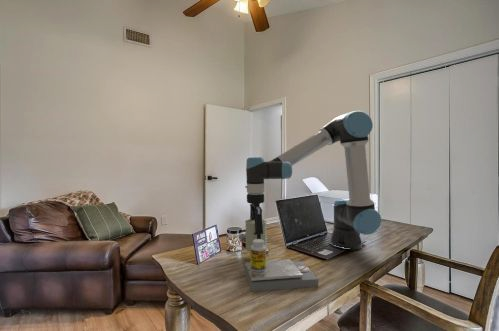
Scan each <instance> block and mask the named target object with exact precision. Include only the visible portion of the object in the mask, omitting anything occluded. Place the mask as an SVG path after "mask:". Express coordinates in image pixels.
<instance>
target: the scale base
mask: <svg viewBox="0 0 499 331" xmlns="http://www.w3.org/2000/svg"><path fill="white" fill-rule="evenodd" d="M292 262H293V264H294V265H295V266H296V267H297V268H298V270H299V271H300V272H301V273H302V274H303V277H297V278H284V279H270V280H256V281H251V278H250V276H249V273H248V270H247V268H246V265H245V264H244V274H245V276H246V279H247V281H248V284H249V288H250V291H251V292H264V291H265V292H266V291H275V290H291V289H299V288H300V289H301V288H314V287H319V278H318V277H317V276H316V275H315V274H314V273H313V271H311V270H310V268H309V267H308V266H307V265H306V264H305V263H304V262H303V261H292Z"/></svg>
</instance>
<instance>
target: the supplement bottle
mask: <svg viewBox="0 0 499 331" xmlns="http://www.w3.org/2000/svg"><path fill="white" fill-rule="evenodd" d="M266 261H267V249H266V246H265V245H264V240H262V239H255V240H253V245H252V246H251V251H250V261H249V262H250V268H251V270H253V271H255V272H261V271H264V270H265V269H266Z"/></svg>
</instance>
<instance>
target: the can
mask: <svg viewBox="0 0 499 331" xmlns="http://www.w3.org/2000/svg"><path fill="white" fill-rule="evenodd" d="M244 222H245V249H246V251H250V252H251V246H252V245H253V240H255V235H254V233H255V221H254V220H252V219H250V218H249V219H247V220H245V221H244ZM262 225H263V234H262V240H264V245H265V246H266V250H267V249H268V246H267V245H268V243H267V220H266V219H264V218H262Z"/></svg>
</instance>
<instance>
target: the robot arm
mask: <svg viewBox="0 0 499 331" xmlns="http://www.w3.org/2000/svg"><path fill="white" fill-rule="evenodd" d="M373 125H374V124H373V121H372V117H370V115H369V114H367V112H365V111H362V110H353V111H349V112H347V113H345V114H341V115H339V116H337V117H335V118H334V119H332V120H331V121H330V122H328V123H326V124H325V125H323V126H322V127H320V128H319V131H318V132H316V133H314V134H313V135H311V136H309V137H308V138H306V139H305V140H303V141H301V142H300V143H298V144H296V145H295V146H293V147H291V148H290V149H288V150H286V151H285V152H283V153H281V154H280V155H278V156H276V157H274V158H273V159H271V160H267V161H265V160H264V157H263V156H262V157H248V158H246V164H245V165H246V166H245V167H246V168H245V169H246V170H245V171H246V174H245V175H246V176H245V177H246V185H245V189H246V192H247V194H246V203H248V204H249V208H250V209H249V219H252V220H254V221H255V233H254V235H255V239H262V234H263V225H262V219H263V209H262V207H261V205H260V204H263V203H265V180H285V179H288V180H289V179H290V178H291V177H292V175H293V166H295V165H296V164H297V163H300V162H302V161H303V160H304V159H306V158H308V157H309V156H311V155H313V154H314V153H316V152H317V151H319V150H321V149H322V148H324V147H326V146H332V145H333V144H335V143H338V142H339V144H340V145H341V146H342V147H343V148H344V158H345V167H346V168H345V169H346V178H347V187H348V196H349V199H337V200H335V201H334V202H333V230H332V233H331V235H330V238H329V244H330V243H332V244H333V245H336V246H339V247H344V248H350V250H349V251H358V250H361V249H362V247H363V241H362V239H361V236H360V234H361V235H365V236H366V235H367V236H369V235H372V234H374V233H376V232H377V230H379V228H380V227H381V224H382V216H381V214H380V213H379V211H377V210H376V209H375V202H374V201H373V200H372V198H371V196H370V195H371V194H370V184H369V172H368V171H369V170H368V162H367V160H368V159H367V153H366V145H367V144H368V142H369V134H371V132H372V130H373Z"/></svg>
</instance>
